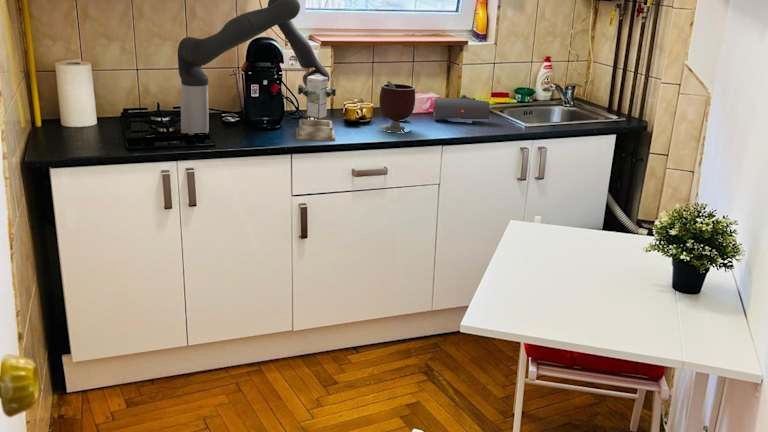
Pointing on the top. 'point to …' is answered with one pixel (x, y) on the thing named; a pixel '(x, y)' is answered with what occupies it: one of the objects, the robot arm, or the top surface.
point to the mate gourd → (396, 104)
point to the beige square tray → (315, 130)
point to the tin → (357, 101)
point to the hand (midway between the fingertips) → (317, 94)
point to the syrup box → (316, 96)
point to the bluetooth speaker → (461, 108)
